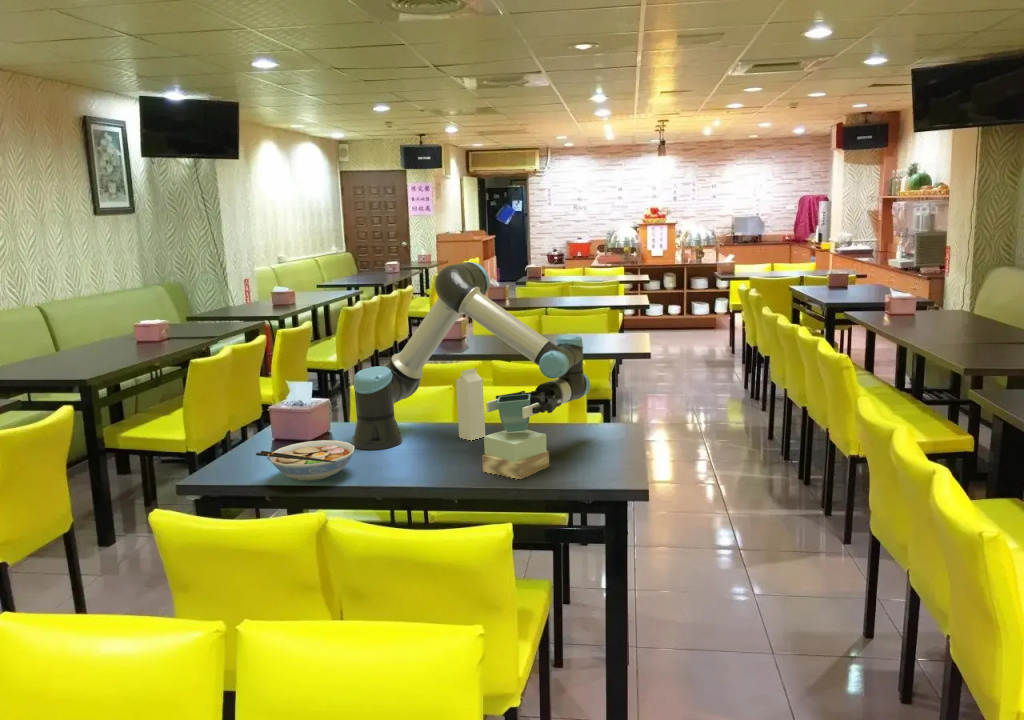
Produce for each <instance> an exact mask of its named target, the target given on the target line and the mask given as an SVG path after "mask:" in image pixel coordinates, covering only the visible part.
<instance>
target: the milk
mask: <svg viewBox="0 0 1024 720" xmlns="http://www.w3.org/2000/svg"><path fill="white" fill-rule="evenodd" d="M460 373H461V376H459V377H458V378H457V379H456V382H455V383H456V384H455V386H456V401H457V403H456V404H457V419H458V420H457V421H458V422H457V423H458V438H459V437H460V438H459V439H461V438H463V439H462V440H464V439H467V440H466V441H468V440H471V441H470V442H473V441H472V440H475V439H478V440H480V439H479V438H482V437H484V436H486V424H485V422H486V421H485V404H484V403H485V402H484V381H483V378H482V377H481V376H480V375H479V374H478V373H477V368H471V369H470V368H469V369H466V370H462V371H460ZM482 439H483V438H482ZM475 441H476V440H475Z"/></svg>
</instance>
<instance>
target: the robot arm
mask: <svg viewBox="0 0 1024 720" xmlns="http://www.w3.org/2000/svg"><path fill="white" fill-rule="evenodd" d="M490 285H491V283H490V277H489V273H488V272H487V270H486V269H485V268H484V266H482V265H481V264H479V263H477V262H471V261H465V262H463V263H457V264H450V265H447V266H445V267H443V268H442V269H441V270H440V271H439V272H438V274H437V275H436V277H435V280H434V289H435V292H436V295H437V299H436V301H435V302H434V304H432V306H431V308H430V309H429V311H428V312H427V314H426V315H425V317H424V318H423V319H422V321H421V323H420V324H419V326H417V328H416V330H415V332H414V333H413V334H412V336H411V337H410V338H409V340H408V341H407V342H406V344H405V346H404V347H403V349H402V350H401V351H400V353H394V354H393V355H391V358H390V359H389V361H388V362H387V363H386V365H385V366H384V365H383V366H381V365H379V366H376V365H375V366H371V367H369V368H368V367H366V368H363V369H361V370H358V371H357V372H356V374H354V376H353V391H354V399H355V402H354V403H355V412H356V414H355V415H356V424H355V429H354V433H353V434H354V435H353V436H352V445H353V446H355V447H354V449H355V448H356V449H359V450H366V451H371V450H372V451H374V450H384V449H389V448H394V447H396V446H398V445H400V444H401V443H402V442H403V441H402V440H403V439H402V433H401V432H402V431H400V428H399V425H398V423H397V420H396V417H395V405H394V404H395V403H398V402H400V401H403V400H405V399H408V398H410V397H411V396H413V394H415V393H416V392H417V390H419V387H420V384H421V379H422V378H423V376H424V371H423V368H424V367H425V365H426V364H427V363H428V361H429V360H430V358H431V357H432V355H433V354H434V353H435V351H436V350H437V348H438V347H439V345H440V344H441V343H442V341H443V340H444V339H445V337H446V336H447V335H448V333H449V331H450V330H451V329H452V327H453V326H454V325H455V323H456V322H457V320H458V319H459V317H460V316H462V315H466V316H467V317H469V318H471V319H472V320H473V321H475V322H476V323H478V325H480V326H481V327H483V328H484V329H485V330H487V331H489V332H491V334H493V335H494V336H496V337H497V338H499V339H500V340H502V341H503V342H504V343H506V344H507V345H509V346H510V347H512V348H513V349H514V350H515V351H517V352H518V353H520V354H521V355H523V357H526V358H527V359H529V361H531V362H533V363H535V364H536V365H537V366H538V367H539V370H540V372H541V373H542V375H543V376H544V377H546V378H548V379H552V380H549V381H546V382H543V383H540V384H539V385H537V387H535V390H531V391H530V392H526V390H521V391H518V392H511V393H505V394H501V395H500V394H499V395H496V396H495V399H493V400H489V401H487V402H486V403H485V405H486V413H492V412H494V411H497V410H498V405H497V401H498V398H499V397H500V396H511V395H522V394H530V406H526V407H524V408H522V413H523V418H527V417H530V418H531V417H532V416H535V415H537V414H540V413H542V414H544V413H546V412H547V414H553V412H554V410H556V408H558V407H561V405H564V404H566V403H570V402H572V401H575V400H579V399H581V398H582V397H585V396H586V395H587V394H588V393H589V392H590V390H591V381H590V379H589V377H588V376H587V375H586V373H584V346H583V345H584V344H583V338H582V336H580V335H578V334H564V335H563V334H562V335H559V336H558V337H557V339H556V341H557V342H556V344H555V343H553V342H551V341H550V340H549V339H548V338H546V337H545V336H543V335H542V334H540V333H539V332H538V331H536V330H535V329H533V328H531V327H530V325H527V324H526V323H525V322H523V321H522V320H520V319H519V318H518V317H516V316H515V315H513V314H511V313H510V312H509V311H507V310H506V309H504V308H503V307H502V306H501V305H499V304H497V303H496V302H494V301H493V300H491V299H490V298H488V296H486V294H487V293H488V291H489V289H490ZM498 411H499V410H498Z"/></svg>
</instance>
